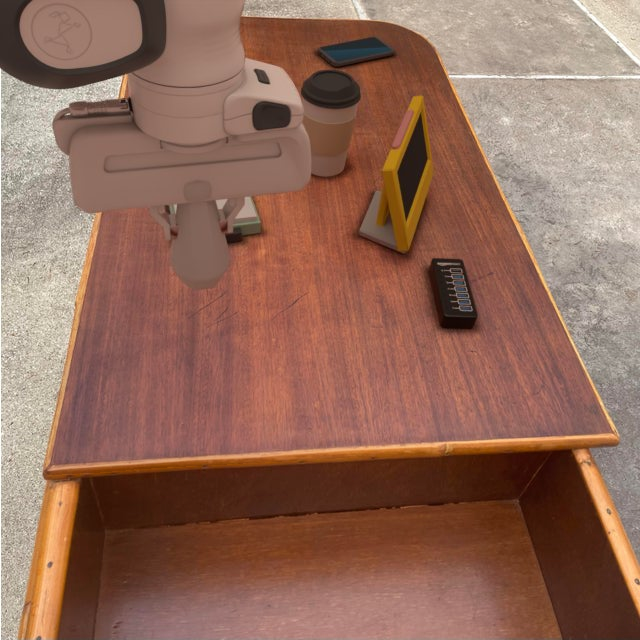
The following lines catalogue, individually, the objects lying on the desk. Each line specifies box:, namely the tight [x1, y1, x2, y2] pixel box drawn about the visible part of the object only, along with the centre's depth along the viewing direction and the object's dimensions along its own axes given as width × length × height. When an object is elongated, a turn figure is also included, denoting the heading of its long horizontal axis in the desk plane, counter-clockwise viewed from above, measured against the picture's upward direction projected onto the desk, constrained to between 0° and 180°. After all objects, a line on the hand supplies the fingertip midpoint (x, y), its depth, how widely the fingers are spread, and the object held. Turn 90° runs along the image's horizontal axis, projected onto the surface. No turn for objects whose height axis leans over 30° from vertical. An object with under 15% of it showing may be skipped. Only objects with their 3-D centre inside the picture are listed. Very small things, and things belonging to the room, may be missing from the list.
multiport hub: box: [428, 257, 479, 330], centre depth 86 cm, size 4×11×2 cm, turn 2°
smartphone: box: [317, 36, 395, 68], centre depth 133 cm, size 8×15×1 cm, turn 121°
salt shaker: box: [169, 180, 232, 292], centre depth 59 cm, size 6×6×13 cm
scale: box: [167, 196, 262, 244], centre depth 93 cm, size 12×13×3 cm
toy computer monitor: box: [358, 94, 435, 255], centre depth 91 cm, size 20×8×16 cm, turn 163°
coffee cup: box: [300, 68, 362, 178], centre depth 100 cm, size 9×9×15 cm
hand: (198, 232), depth 60 cm, fingers closed on salt shaker, 3 cm apart
